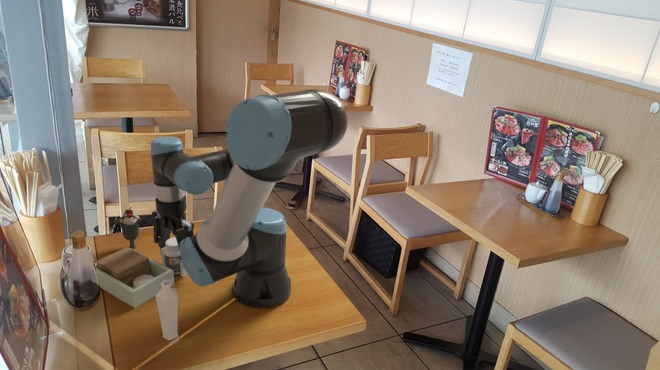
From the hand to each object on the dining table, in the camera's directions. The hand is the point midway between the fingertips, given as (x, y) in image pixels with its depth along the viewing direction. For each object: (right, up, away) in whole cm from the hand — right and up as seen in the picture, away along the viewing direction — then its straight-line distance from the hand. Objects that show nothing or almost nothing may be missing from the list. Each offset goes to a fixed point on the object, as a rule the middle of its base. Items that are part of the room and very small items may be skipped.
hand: (176, 271), depth 128 cm
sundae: (-16, +4, +9) cm, 19 cm away
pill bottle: (0, -1, 0) cm, 1 cm away
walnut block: (-12, -1, -6) cm, 13 cm away
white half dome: (-5, -3, -9) cm, 11 cm away
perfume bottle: (+6, -11, -23) cm, 26 cm away
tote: (-9, -3, -7) cm, 12 cm away
